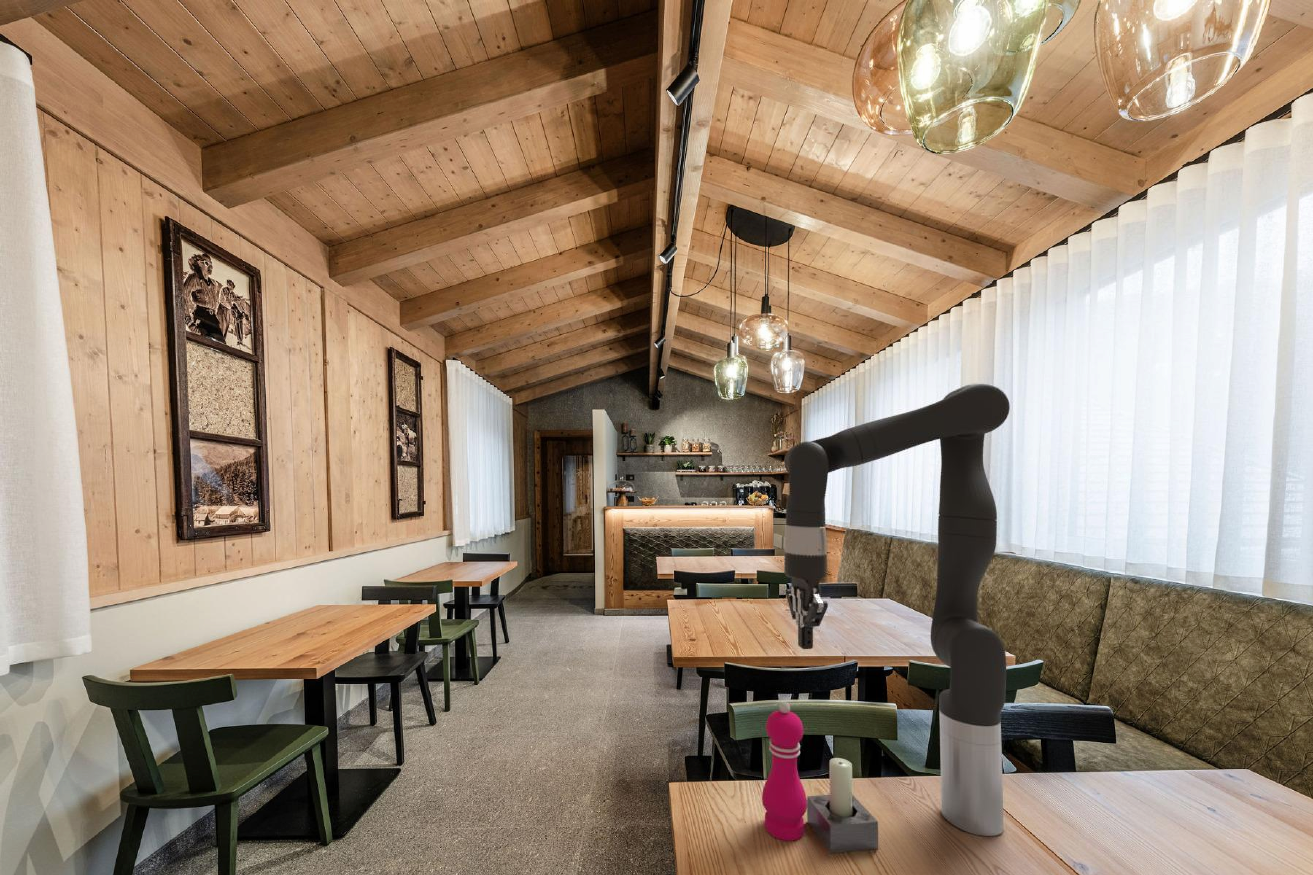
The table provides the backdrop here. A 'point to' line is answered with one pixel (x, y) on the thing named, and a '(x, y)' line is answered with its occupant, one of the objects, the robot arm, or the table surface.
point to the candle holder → (842, 826)
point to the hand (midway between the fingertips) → (805, 647)
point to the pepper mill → (784, 777)
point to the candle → (840, 787)
